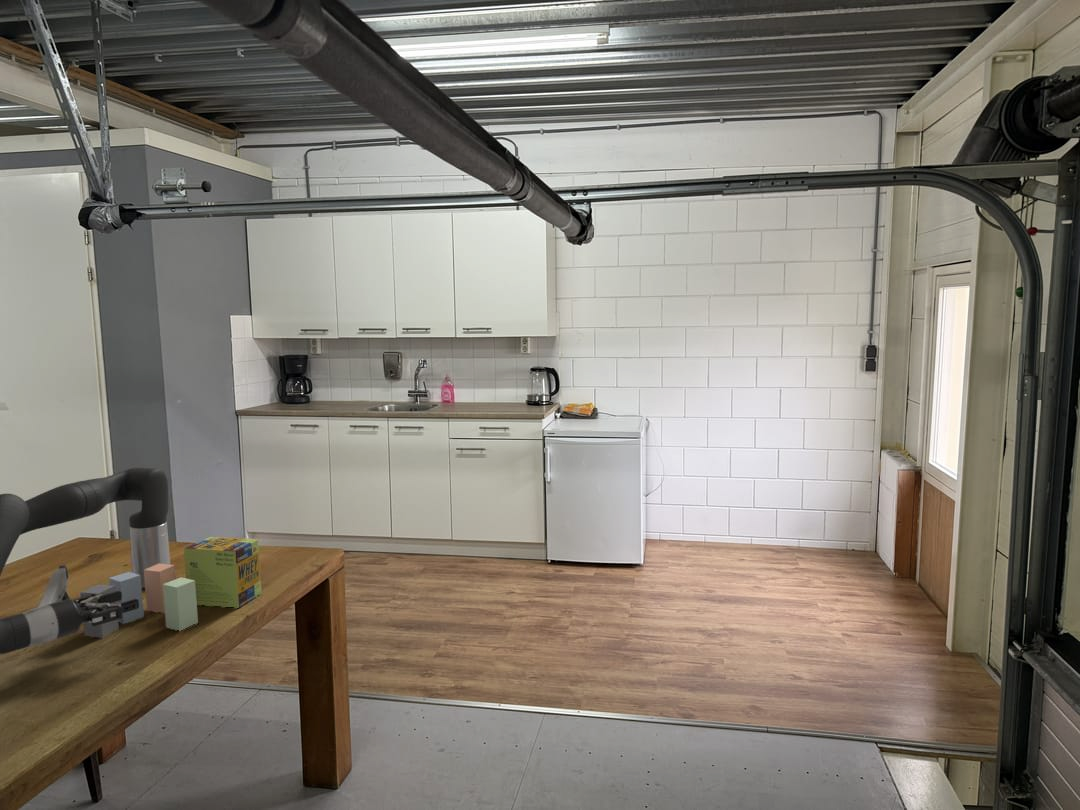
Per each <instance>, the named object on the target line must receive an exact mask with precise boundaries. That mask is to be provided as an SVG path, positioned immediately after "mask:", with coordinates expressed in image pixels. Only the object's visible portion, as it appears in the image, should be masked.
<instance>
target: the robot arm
mask: <svg viewBox="0 0 1080 810" xmlns="http://www.w3.org/2000/svg"><path fill="white" fill-rule="evenodd" d="M122 501H124V502H125V501H138V502H139V501H140V502H141V510H140V511H138V512H134V513H133V514H131V515H130V516H129V519H128V523H129V524H128V526H129V533H130V534H129V535H130V544H131V551H130V553H129V554H130V565H131V572H132V573H135V574H138V575H140V577H141V589H145V579H144V570H145V569H147V568H150V567H152V566H154V565H157V564H159V563H160V564H169V565H171V558H170V547H169V534H168V521H167V520H168V519H167V518H168V517H167V516H168V512H169V483H168V477H167V475H166V473H165V472H164V471H163V470H162V469H160V468H154V467H153V468H151V467H132V468H127V469H124V470H122V471H120V472H117V473H113V474H112V475H108V476H104V477H99V478H90V479H86V480H80V481H79V480H78V481H76V482H71V483H65V484H62V485H59V486H56V487H54V488H51V489H50V490H49V489H48V490H47V491H44V492H42V493H39V494H38V495H36V496H34V497H31V498H29V499H27V500H26V499H25V500H24V499H23V498H22V497H20V496H18V495H16V494H13V493H1V494H0V576H1V575H2V573H3V570H4V569H5V566H6V563H7V561H8V559H9V557H10V555H11V553H12V550H13V549H14V547H15V545H16V543H17V542H18V539H19V537H20V536H21V535H23V534H26V533H29V532H32V531H36V530H39V529H43V528H47V527H48V528H49V527H52V526H58V525H61V524H64V523H69V522H73V521H76V520H81V519H84V518H87V517H91V516H94V515H95V514H98V513H100V511H102V510H103V509H104V508H105V507H106V506H107V505H109V504H112V503H117V502H122ZM121 599H122V593H121V591H115V592H112V593H108V594H105V595H103V596H102V595H101V594H99V595H96V594H90V595H87V596H83V597H81V596H80V597H78V598H74V599H71V598H70V599H66V600H63V601H59V602H56V603H52V604H48V605H45V606H41V607H38V606H37V607H38V608H37V607H34V608H31V609H28V610H27V611H24V612H21V613H16V614H13V615H10V616H6V617H3V618H0V655H5V654H8V653H11V652H12V653H13V652H16V651H18V650H22V649H24V648H29V647H33V646H37V645H41V644H44V643H48V642H51V641H52V642H53V641H55V640H58V639H60V638H64V637H68V636H71V635H74V634H76V633H78V631H79V630H80V627H81V625H83V623H85V622H87V623H90V622H92V626H97V625H100V624H104V623H107V622H110V621H114V620H117V619H121V618H123V616H122V613H125V612H128V611H132V610H135V609H138V608H139V600H138V599H133V600H129V601H126V602H122V603H120V604H110V603H113V602H117V601H120V600H121ZM110 608H111V609H110ZM104 609H105V610H104ZM111 612H115V613H111Z"/></svg>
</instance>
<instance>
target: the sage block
mask: <svg viewBox="0 0 1080 810" xmlns="http://www.w3.org/2000/svg"><path fill="white" fill-rule="evenodd" d="M163 594H164V606H165V612H164V615H165V616H164V618H165V627H166V629H169V628H170V630H173V629H174V631H177V630H179V631H178V632H182V631H184V630H186V629H185V628H187V627H189V626H191V625H193V624H195V625H197V624H196V623H198V624H199V617H198V616H199V615H198V605H197V602H196V589H195V580H191V579H186V577H178V578H176V579H175V580H173V581H170V582H167V583H165V584H163ZM193 626H194V625H193ZM191 627H192V626H191ZM189 628H190V627H189ZM183 629H184V630H183ZM187 629H188V628H187ZM181 630H182V631H181Z"/></svg>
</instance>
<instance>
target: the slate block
mask: <svg viewBox="0 0 1080 810" xmlns="http://www.w3.org/2000/svg"><path fill="white" fill-rule="evenodd" d="M108 583H109V584H108V585H112V586H115V590H116V591H121V593H122V599H121V600H120V601H117V604H120V603H122V602H126V601H129V600H133V599H138V600H139V608H138V609H135V610H132V611H128V612H125V613H122V616H123V618H121V619H118V622H120V623H119V624H121V623H123V624H122V625H126V624H125V623H127V624H129V623H128V622H130V623H132V622H134V621H133V620H135V621H137V620H136V619H138V620H140V619H143V618H145V613H144V603H143V591H142V589H143V588H141V577H140V575H138V574H135V573H132V571H127V572H123V573H121V574H117V575H115V576H114V575H113V576H111V577H108ZM142 617H143V618H142ZM139 618H140V619H139ZM131 621H132V622H131Z"/></svg>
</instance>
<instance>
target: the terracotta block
mask: <svg viewBox="0 0 1080 810" xmlns="http://www.w3.org/2000/svg"><path fill="white" fill-rule="evenodd" d="M144 579H145V588H144V589H145V590H144V591H145V600H146V602H145V603H146V611H147V612H150V611H153V612H152V613H158V612H161V613H160V614H164V613H165V606H164V594H163V584H165V583H167V582H170V581H173V580H175V579H177V577H176V565H175V564H170V565H169V564H160V563H159V564H157V565H154V566H152V567H150V568H147V569H145V570H144ZM163 612H164V613H163Z"/></svg>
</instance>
